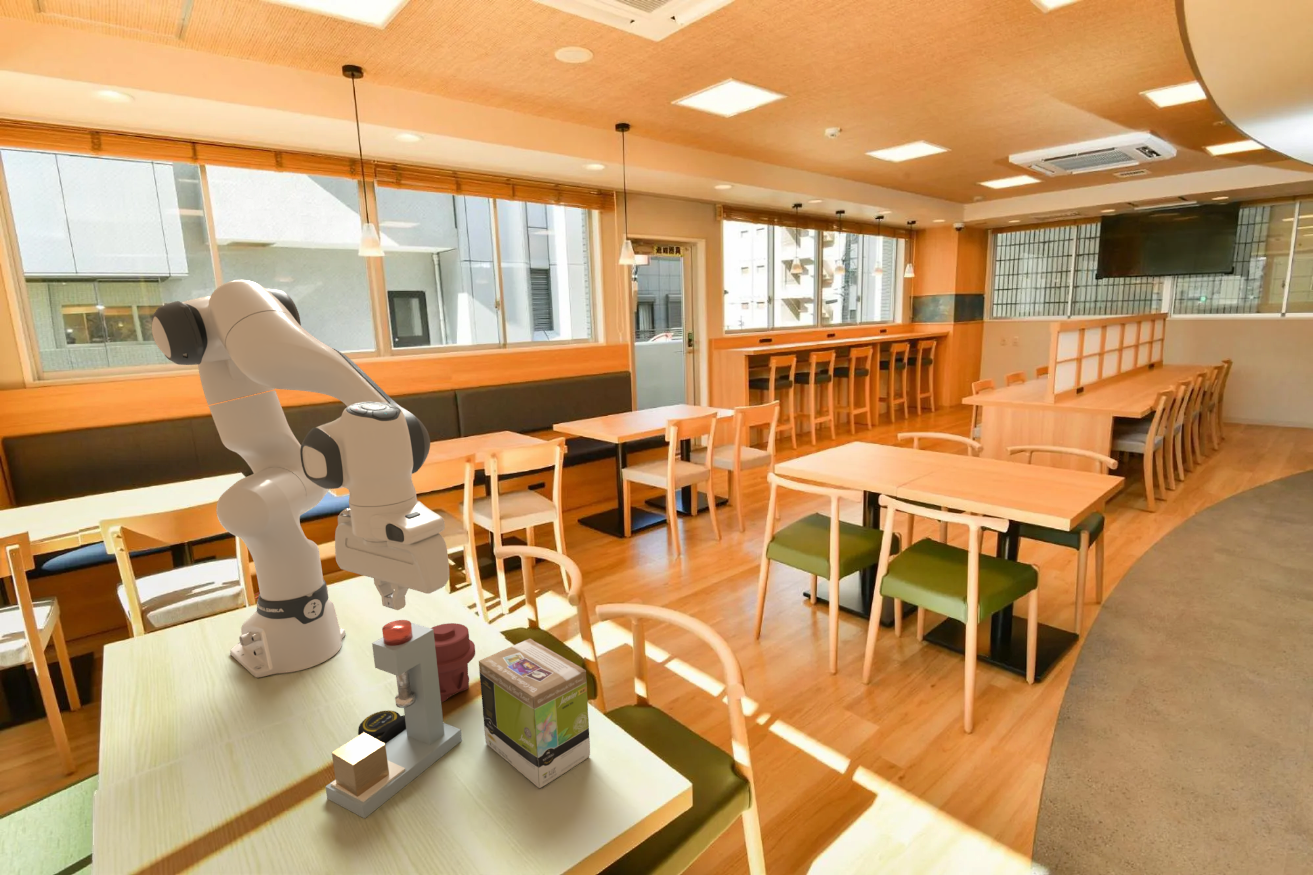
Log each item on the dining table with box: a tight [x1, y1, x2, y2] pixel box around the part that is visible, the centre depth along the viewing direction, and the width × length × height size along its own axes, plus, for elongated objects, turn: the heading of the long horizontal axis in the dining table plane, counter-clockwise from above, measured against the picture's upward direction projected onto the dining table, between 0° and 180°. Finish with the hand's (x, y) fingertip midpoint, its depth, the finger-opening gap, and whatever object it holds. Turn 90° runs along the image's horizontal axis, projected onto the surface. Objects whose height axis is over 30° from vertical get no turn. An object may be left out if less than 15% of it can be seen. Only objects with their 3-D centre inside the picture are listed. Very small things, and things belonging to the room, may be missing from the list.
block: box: [331, 733, 389, 797], centre depth 92 cm, size 5×5×5 cm
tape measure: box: [357, 709, 406, 744], centre depth 104 cm, size 7×7×4 cm
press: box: [324, 622, 463, 819], centre depth 96 cm, size 8×18×20 cm, turn 151°
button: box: [381, 619, 416, 709], centre depth 97 cm, size 4×4×12 cm
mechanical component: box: [430, 622, 476, 703], centre depth 116 cm, size 12×10×10 cm
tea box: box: [478, 638, 591, 789], centre depth 100 cm, size 15×10×15 cm, turn 45°
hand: (394, 606), depth 95 cm, fingers closed
